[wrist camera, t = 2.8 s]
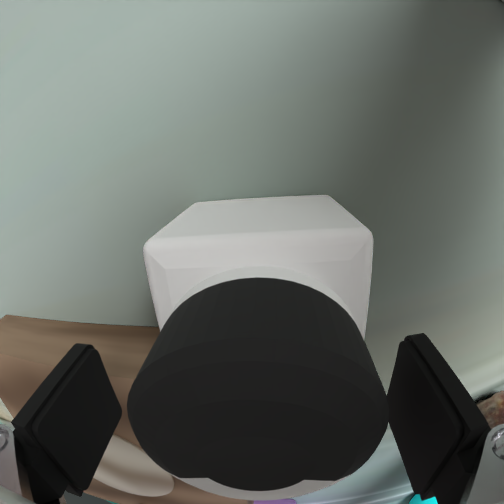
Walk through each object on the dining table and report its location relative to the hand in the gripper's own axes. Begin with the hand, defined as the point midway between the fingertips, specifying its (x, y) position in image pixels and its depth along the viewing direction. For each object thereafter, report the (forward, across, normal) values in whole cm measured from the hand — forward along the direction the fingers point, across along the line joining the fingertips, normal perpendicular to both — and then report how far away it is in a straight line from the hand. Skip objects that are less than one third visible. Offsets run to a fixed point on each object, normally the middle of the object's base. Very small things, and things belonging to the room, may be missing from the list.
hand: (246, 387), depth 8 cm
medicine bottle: (+9, -1, -1) cm, 9 cm away
